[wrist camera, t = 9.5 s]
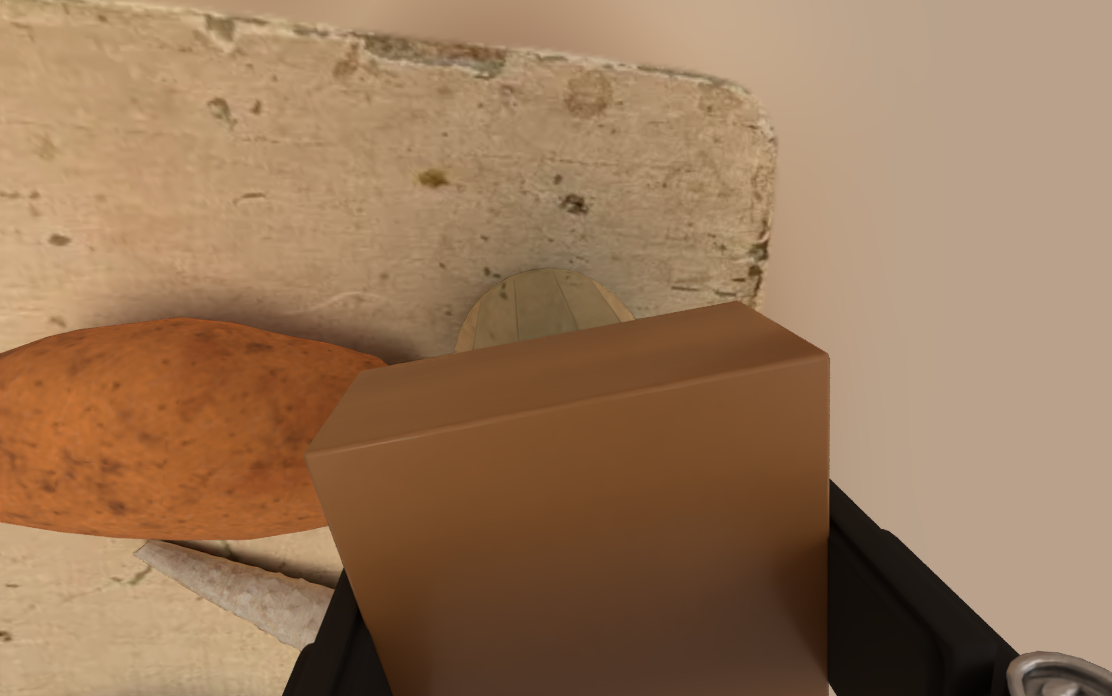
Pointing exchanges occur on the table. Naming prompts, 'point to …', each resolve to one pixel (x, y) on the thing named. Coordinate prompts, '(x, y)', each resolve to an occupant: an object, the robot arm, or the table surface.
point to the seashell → (245, 591)
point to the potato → (167, 429)
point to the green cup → (539, 308)
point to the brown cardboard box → (591, 511)
